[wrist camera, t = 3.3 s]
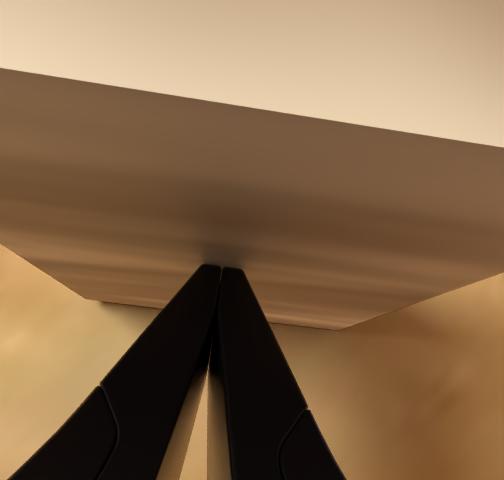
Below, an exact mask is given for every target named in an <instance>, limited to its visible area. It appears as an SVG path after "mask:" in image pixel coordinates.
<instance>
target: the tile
mask: <svg viewBox="0 0 504 480" xmlns="http://www.w3.org/2000/svg"><path fill="white" fill-rule="evenodd" d="M0 244H2V245H3V246H5V247H6V248H8V249H9V250H11V251H12V252H14V253H16V254H17V255H19V256H20V257H22V258H23V259H25V260H26V261H28V262H29V263H31V264H32V265H34V266H36V267H37V268H39V269H40V270H42V271H43V272H45V273H46V274H48V275H49V276H51V277H52V278H54V279H56V280H57V281H59V282H60V283H62V284H63V285H65V286H66V287H68V288H69V289H71V290H73V291H74V292H76V293H77V294H79V295H80V296H82V297H83V298H85V299H89V300H97V301H105V302H113V303H121V304H129V305H137V306H145V307H153V308H161V309H163V308H164V307H165V306H166V305H167V304H168V302H169V301H170V300H171V299H172V298H173V297H174V295H175V294H176V293H177V292H178V291H179V290H180V288H181V287H182V286H183V285H184V284H185V283H186V281H187V280H188V279H189V278H190V277H191V276H192V274H193V273H194V272H195V271H196V270H197V269H198V267H199V266H200V265H202V264H211V265H218V266H220V267H221V268H222V269H223V267H233V268H240V269H242V270H243V271H244V272H245V275H246V277H247V279H248V281H249V283H250V285H251V287H252V289H253V291H254V293H255V296H256V298H257V300H258V302H259V304H260V306H261V308H262V310H263V312H264V314H265V317H266V319H267V321H268V322H274V323H282V324H290V325H298V326H306V327H314V328H322V329H330V330H341V329H343V328H346V327H349V326H352V325H355V324H358V323H361V322H363V321H366V320H369V319H372V318H375V317H378V316H381V315H383V314H386V313H389V312H392V311H395V310H398V309H400V308H403V307H406V306H409V305H412V304H415V303H418V302H420V301H423V300H426V299H429V298H432V297H435V296H438V295H440V294H443V293H446V292H449V291H452V290H455V289H457V288H460V287H463V286H466V285H469V284H472V283H475V282H477V281H480V280H483V279H486V278H489V277H492V276H495V275H497V274H500V273H503V272H504V0H0ZM221 273H222V272H221Z"/></svg>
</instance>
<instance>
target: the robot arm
mask: <svg viewBox="0 0 504 480" xmlns="http://www.w3.org/2000/svg"><path fill="white" fill-rule="evenodd" d="M221 272H222V273H221ZM211 345H212V346H211ZM210 352H211V353H210ZM209 359H210V361H209ZM208 365H209V370H208ZM207 371H208V416H207V480H346V478H345V476H344V474H343V473H342V471H341V469H340V468H339V466H338V464H337V462H336V461H335V459H334V457H333V455H332V453H331V451H330V449H329V447H328V445H327V443H326V441H325V439H324V437H323V436H322V434H321V432H320V430H319V428H318V425H317V423H316V421H315V419H314V417H313V415H312V413H311V411H310V410H307V409H308V405H307V403H306V401H305V399H304V396H303V394H302V392H301V390H300V388H299V386H298V384H297V382H296V380H295V378H294V375H293V373H292V371H291V369H290V367H289V365H288V363H287V361H286V359H285V357H284V354H283V352H282V350H281V348H280V346H279V344H278V342H277V340H276V338H275V335H274V333H273V331H272V329H271V327H270V325H269V323H268V321H267V319H266V317H265V314H264V312H263V310H262V308H261V306H260V304H259V302H258V300H257V298H256V296H255V293H254V291H253V289H252V287H251V285H250V283H249V281H248V279H247V277H246V275H245V272H244V271H243V270H242V269H240V268H233V267H223V269H222V268H221V267H220V266H218V265H211V264H202V265H200V266H199V267H198V269H197V270H196V271H195V272H194V273H193V274H192V276H191V277H190V278H189V279H188V280H187V281H186V283H185V284H184V285H183V286H182V287H181V288H180V290H179V291H178V292H177V293H176V294H175V295H174V297H173V298H172V299H171V300H170V301H169V302H168V304H167V305H166V306H165V307H164V308H163V309H162V311H161V312H160V313H159V314H158V315H157V317H156V318H155V319H154V320H153V321H152V322H151V324H150V325H149V326H148V327H147V328H146V329H145V331H144V332H143V333H142V334H141V335H140V336H139V338H138V339H137V340H136V341H135V342H134V343H133V345H132V346H131V347H130V348H129V349H128V350H127V352H126V353H125V354H124V355H123V356H122V357H121V359H120V360H119V361H118V362H117V363H116V364H115V366H114V367H113V368H112V369H111V370H110V371H109V373H108V374H107V375H106V376H105V377H104V379H103V380H102V381H101V382H100V386H97V387H96V388H95V389H94V390H93V391H92V392H91V393H90V395H89V396H88V397H87V398H86V399H85V400H84V402H83V403H82V404H81V405H80V406H79V407H78V408H77V409H76V411H75V412H74V413H73V414H72V415H71V416H70V417H69V418H68V419H67V421H66V422H65V423H64V424H63V425H62V426H61V427H60V428H59V429H58V430H57V432H55V433H54V434H53V435H52V436H51V437H50V438H49V439H48V440H47V441H46V442H45V443H44V444H43V445H42V446H41V447H40V448H39V449H38V450H37V451H36V452H35V453H34V454H33V455H32V456H31V457H30V458H29V459H28V460H27V461H26V462H25V463H24V464H23V465H22V466H21V467H20V468H19V469H18V470H17V471H16V472H15V473H14V474H13V475H12V476H10V477H9V478H8V479H7V480H179V478H180V474H181V471H182V467H183V463H184V459H185V456H186V452H187V448H188V444H189V441H190V437H191V433H192V429H193V426H194V422H195V418H196V414H197V411H198V407H199V403H200V399H201V395H202V392H203V388H204V384H205V380H206V376H207Z"/></svg>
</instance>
